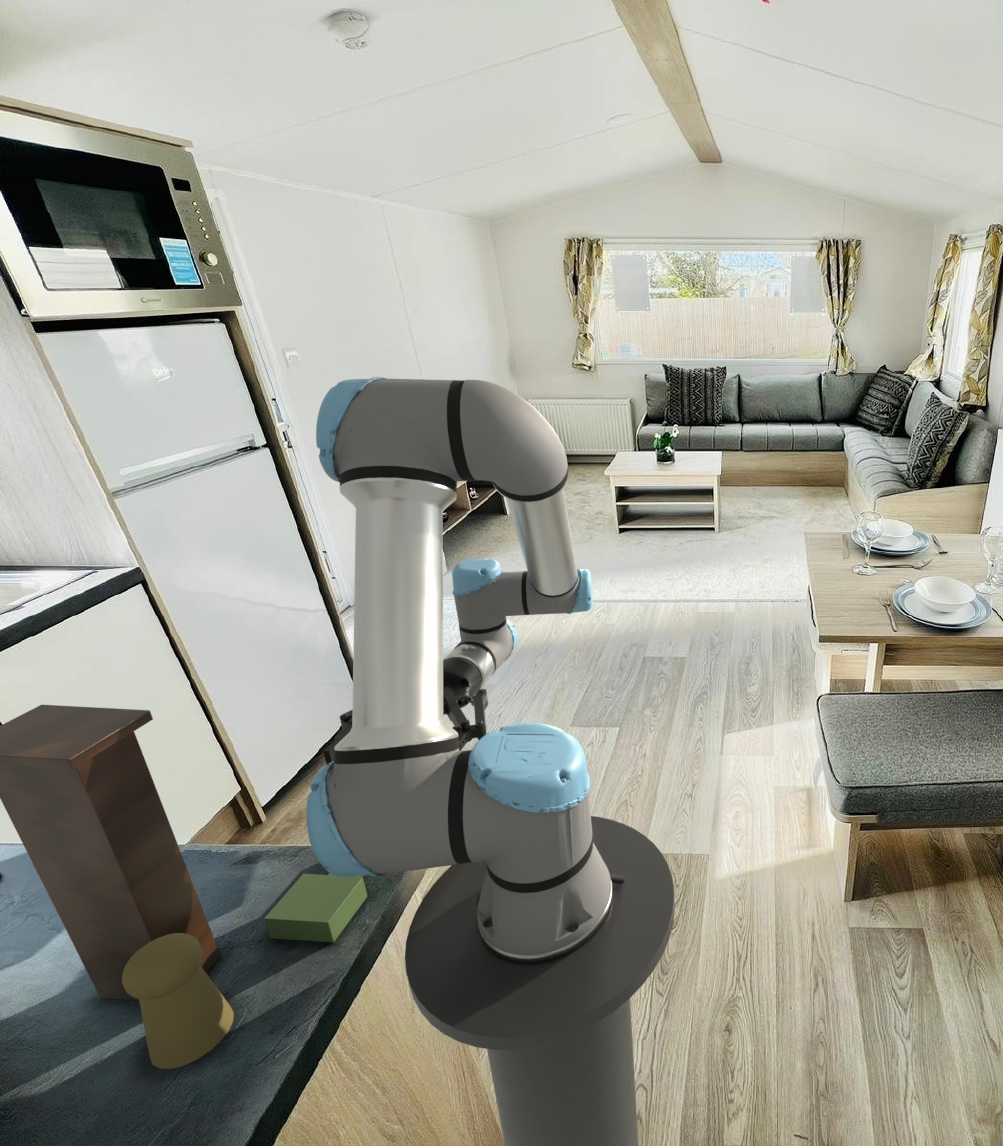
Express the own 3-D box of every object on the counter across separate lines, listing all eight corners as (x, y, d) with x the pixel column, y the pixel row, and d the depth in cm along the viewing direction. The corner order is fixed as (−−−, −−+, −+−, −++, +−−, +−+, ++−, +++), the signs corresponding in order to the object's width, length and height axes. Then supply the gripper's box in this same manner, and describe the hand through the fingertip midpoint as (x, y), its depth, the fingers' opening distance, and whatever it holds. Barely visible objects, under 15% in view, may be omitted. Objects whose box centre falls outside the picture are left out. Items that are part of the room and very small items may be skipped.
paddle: (410, 838, 83) (406, 820, 82) (333, 942, 69) (328, 922, 68) (357, 835, 83) (352, 817, 82) (270, 938, 69) (263, 918, 68)
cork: (188, 1076, 57) (149, 990, 53) (131, 1061, 58) (89, 976, 54) (250, 1009, 62) (219, 927, 58) (197, 997, 63) (163, 915, 59)
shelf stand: (238, 948, 68) (150, 709, 57) (180, 1014, 62) (68, 759, 51) (146, 942, 68) (41, 704, 57) (79, 1008, 62) (-55, 752, 51)
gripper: (377, 652, 100) (277, 733, 81) (535, 660, 100) (472, 743, 80) (386, 693, 103) (291, 781, 83) (539, 701, 103) (480, 791, 83)
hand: (380, 762), depth 82 cm, fingers open, 13 cm apart
